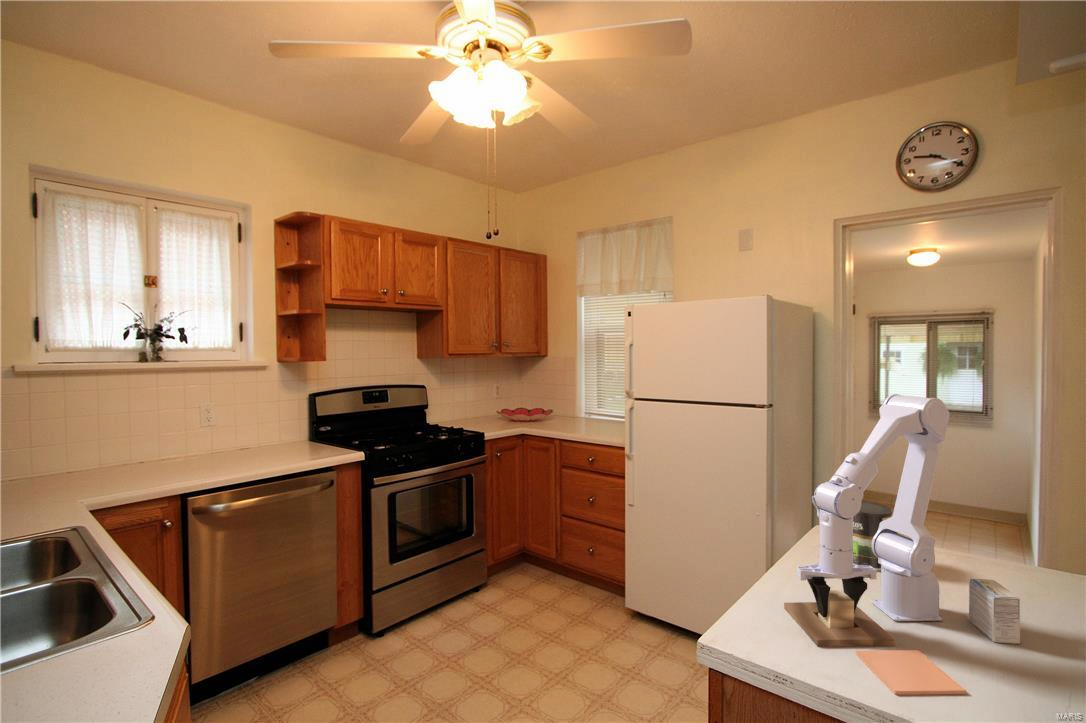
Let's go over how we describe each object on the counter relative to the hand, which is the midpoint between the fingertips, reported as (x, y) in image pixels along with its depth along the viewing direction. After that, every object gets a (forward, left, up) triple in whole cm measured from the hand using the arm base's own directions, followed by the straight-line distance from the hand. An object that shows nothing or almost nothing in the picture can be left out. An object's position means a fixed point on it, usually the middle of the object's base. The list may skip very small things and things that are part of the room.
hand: (835, 614), depth 105 cm
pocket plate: (0, 0, -2) cm, 2 cm away
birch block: (0, 0, -2) cm, 2 cm away
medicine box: (-28, +3, -2) cm, 28 cm away
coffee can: (-23, -29, -2) cm, 37 cm away
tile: (-4, +15, -2) cm, 16 cm away
